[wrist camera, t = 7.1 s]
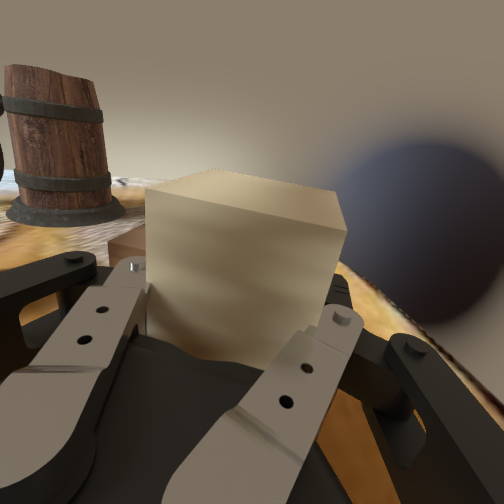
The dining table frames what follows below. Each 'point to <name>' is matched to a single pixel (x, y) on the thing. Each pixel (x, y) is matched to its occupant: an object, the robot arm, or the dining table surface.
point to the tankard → (57, 150)
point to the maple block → (238, 263)
